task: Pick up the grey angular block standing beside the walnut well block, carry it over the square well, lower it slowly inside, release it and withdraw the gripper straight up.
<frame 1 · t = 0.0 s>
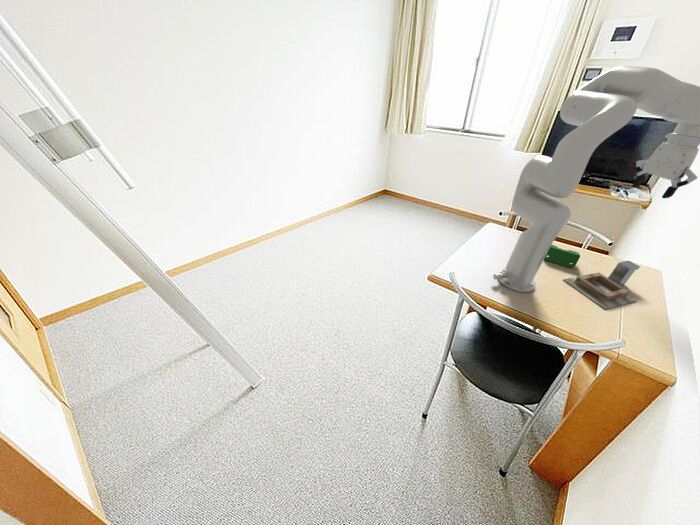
hand: (649, 192, 105), 31 cm above the table, fingers open, 9 cm apart
green rectangular block: (557, 261, 124), on the table
grey angular block: (615, 282, 113), on the table
well: (598, 290, 108), on the table
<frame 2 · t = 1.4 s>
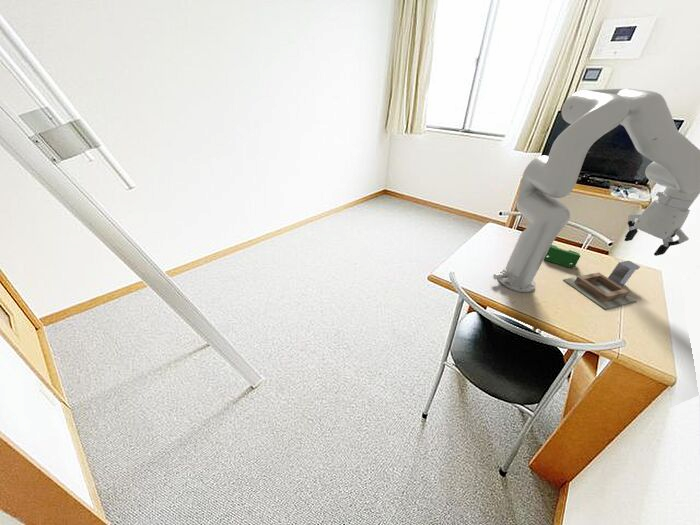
hand: (642, 247, 105), 15 cm above the table, fingers open, 9 cm apart
nothing on the table moved.
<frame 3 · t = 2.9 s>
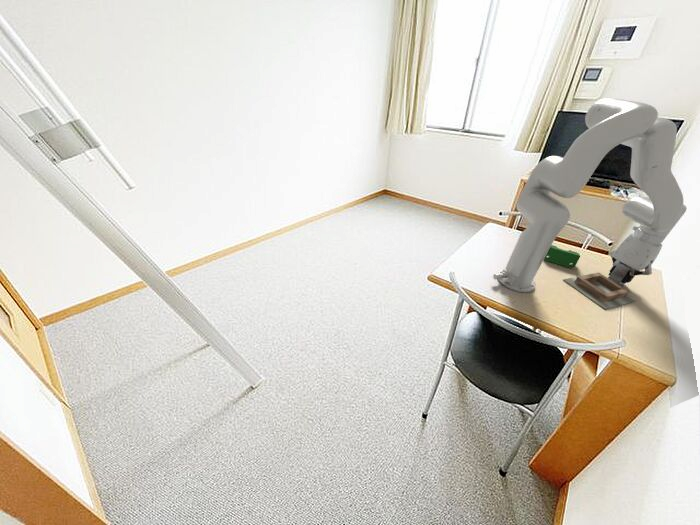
hand: (618, 278, 112), 2 cm above the table, fingers closed on grey angular block, 4 cm apart
grey angular block: (615, 282, 113), on the table, touching gripper
everything else where it was.
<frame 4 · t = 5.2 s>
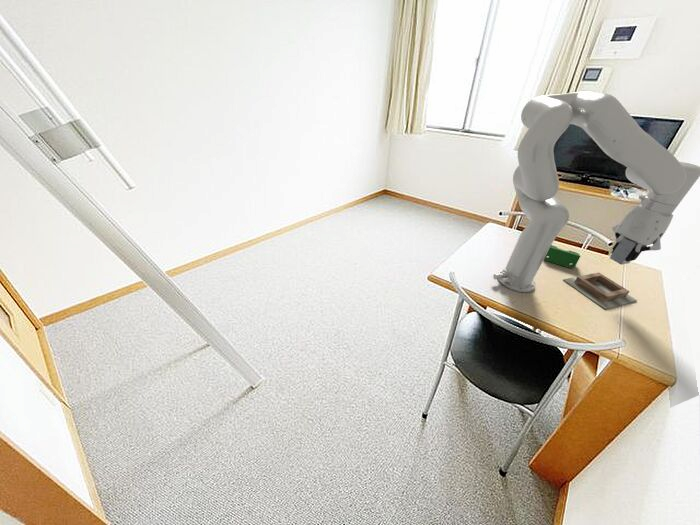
hand: (622, 256, 100), 15 cm above the table, fingers closed on grey angular block, 4 cm apart
grey angular block: (619, 260, 101), point 13 cm above the table, touching gripper
everything else where it was.
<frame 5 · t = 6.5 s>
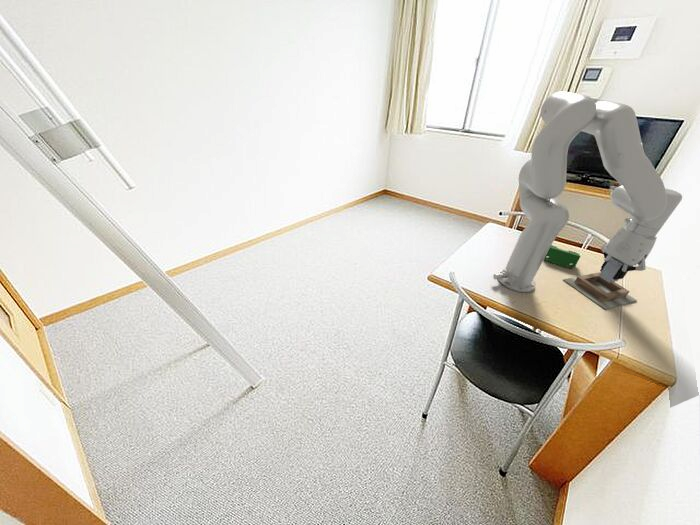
hand: (610, 274, 104), 7 cm above the table, fingers closed on grey angular block, 4 cm apart
grey angular block: (607, 278, 105), point 5 cm above the table, touching gripper
everything else where it was.
when the fingers open (4 cm above the table, at t = 7.5 s): grey angular block drops 1 cm, resting on well.
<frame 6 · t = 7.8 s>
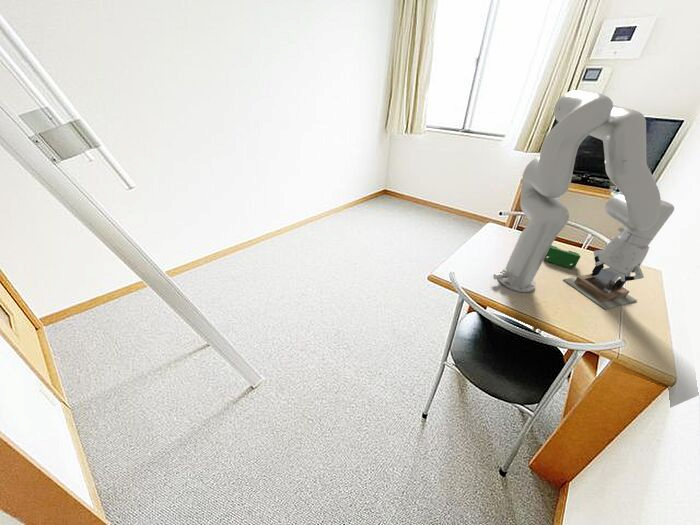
hand: (604, 281, 106), 4 cm above the table, fingers open, 7 cm apart
grey angular block: (598, 289, 108), resting on well
everything else where it was.
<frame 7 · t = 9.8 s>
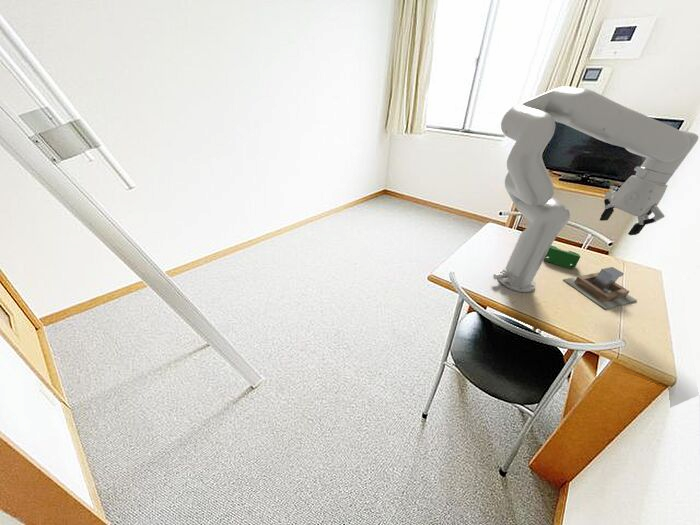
hand: (617, 227, 98), 23 cm above the table, fingers open, 9 cm apart
nothing on the table moved.
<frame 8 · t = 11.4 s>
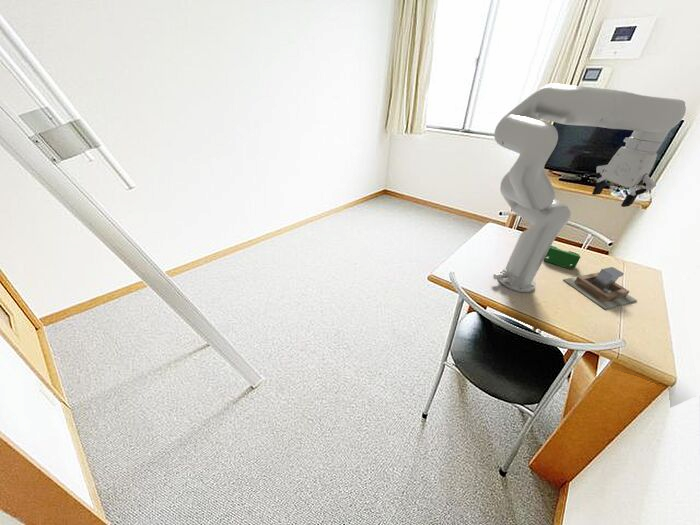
hand: (609, 200, 99), 30 cm above the table, fingers open, 9 cm apart
at the end: grey angular block 0.1 cm off-centre on the well, point 0.5 cm above the well's base; grey angular block tilted 0°; the gripper is holding nothing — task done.
